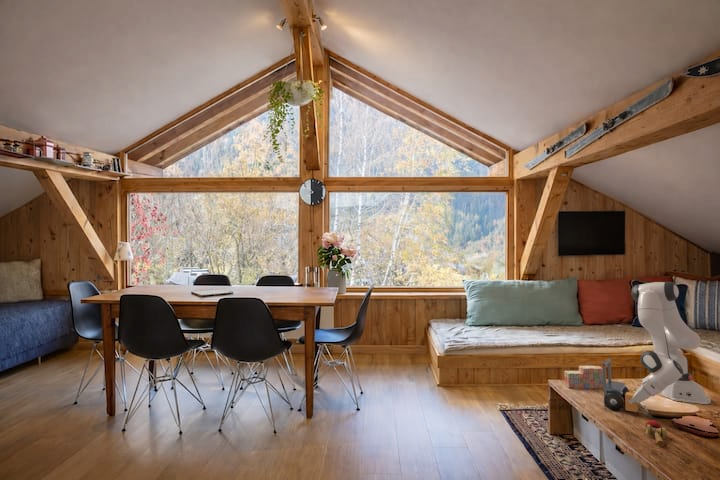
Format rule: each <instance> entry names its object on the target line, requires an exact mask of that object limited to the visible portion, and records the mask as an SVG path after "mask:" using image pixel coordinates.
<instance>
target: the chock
mask: <svg viewBox="0 0 720 480" xmlns="http://www.w3.org/2000/svg"><path fill="white" fill-rule="evenodd" d="M634 394H635V392H630V391H629V392H626V394H625V401H624V405H625V411H629V412H633V413H637V412H639V403H637V402H633V403H632V404H630V403H629V402H628V401H629V400H630V399H631V398H632V397H633V395H634Z"/></svg>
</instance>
